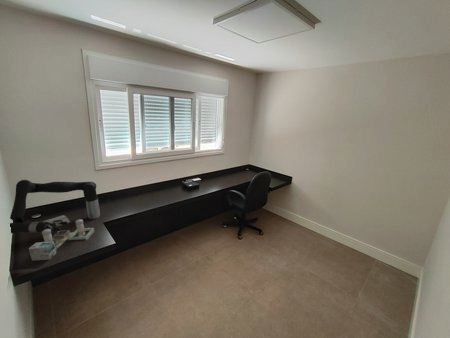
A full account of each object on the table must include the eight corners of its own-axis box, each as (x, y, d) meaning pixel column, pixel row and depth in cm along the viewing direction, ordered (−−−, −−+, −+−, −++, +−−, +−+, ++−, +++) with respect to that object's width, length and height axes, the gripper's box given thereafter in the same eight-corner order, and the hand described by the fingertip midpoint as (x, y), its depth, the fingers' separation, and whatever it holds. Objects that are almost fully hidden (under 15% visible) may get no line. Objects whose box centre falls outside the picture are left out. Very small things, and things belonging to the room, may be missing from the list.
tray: (78, 232, 158) (77, 228, 157) (94, 231, 160) (93, 227, 159) (69, 241, 146) (68, 237, 145) (86, 240, 148) (85, 236, 147)
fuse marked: (80, 234, 155) (77, 219, 151) (86, 233, 155) (83, 219, 152) (77, 237, 150) (73, 222, 147) (83, 237, 151) (80, 222, 147)
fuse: (48, 244, 140) (44, 229, 136) (55, 244, 141) (52, 228, 137) (44, 249, 136) (39, 232, 132) (51, 248, 136) (47, 232, 133)
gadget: (72, 225, 168) (71, 221, 167) (50, 233, 156) (49, 229, 155) (63, 216, 181) (63, 213, 180) (42, 223, 169) (41, 219, 168)
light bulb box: (57, 254, 134) (54, 240, 131) (50, 261, 127) (47, 247, 124) (39, 255, 132) (35, 241, 129) (31, 262, 125) (27, 248, 122)
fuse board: (57, 234, 154) (56, 230, 153) (73, 234, 156) (73, 229, 154) (36, 253, 134) (35, 248, 133) (56, 251, 136) (55, 247, 135)
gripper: (30, 227, 138) (56, 226, 141) (45, 217, 152) (68, 216, 154) (32, 237, 140) (58, 235, 143) (47, 226, 154) (70, 225, 156)
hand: (63, 225), depth 148 cm, fingers open, 8 cm apart
